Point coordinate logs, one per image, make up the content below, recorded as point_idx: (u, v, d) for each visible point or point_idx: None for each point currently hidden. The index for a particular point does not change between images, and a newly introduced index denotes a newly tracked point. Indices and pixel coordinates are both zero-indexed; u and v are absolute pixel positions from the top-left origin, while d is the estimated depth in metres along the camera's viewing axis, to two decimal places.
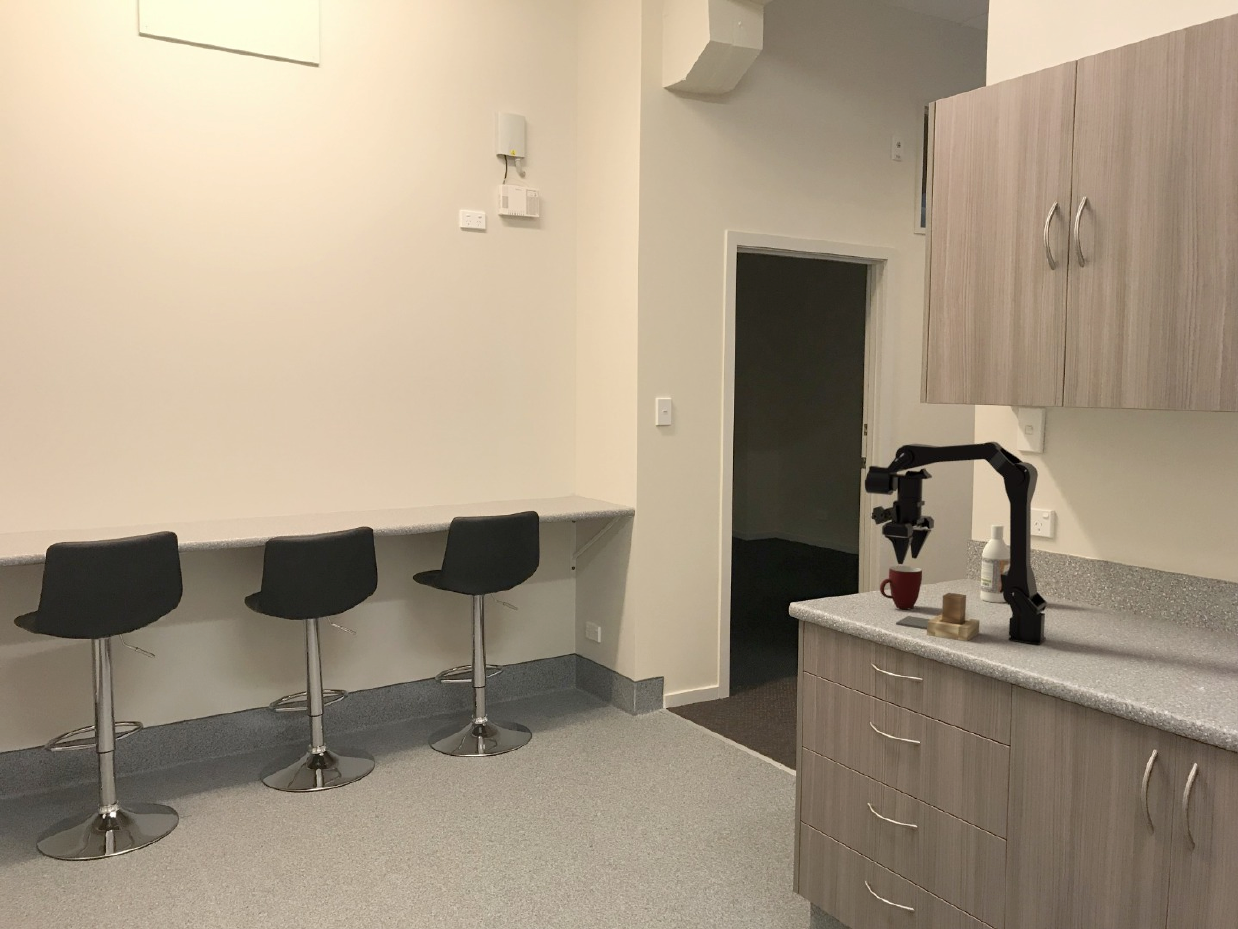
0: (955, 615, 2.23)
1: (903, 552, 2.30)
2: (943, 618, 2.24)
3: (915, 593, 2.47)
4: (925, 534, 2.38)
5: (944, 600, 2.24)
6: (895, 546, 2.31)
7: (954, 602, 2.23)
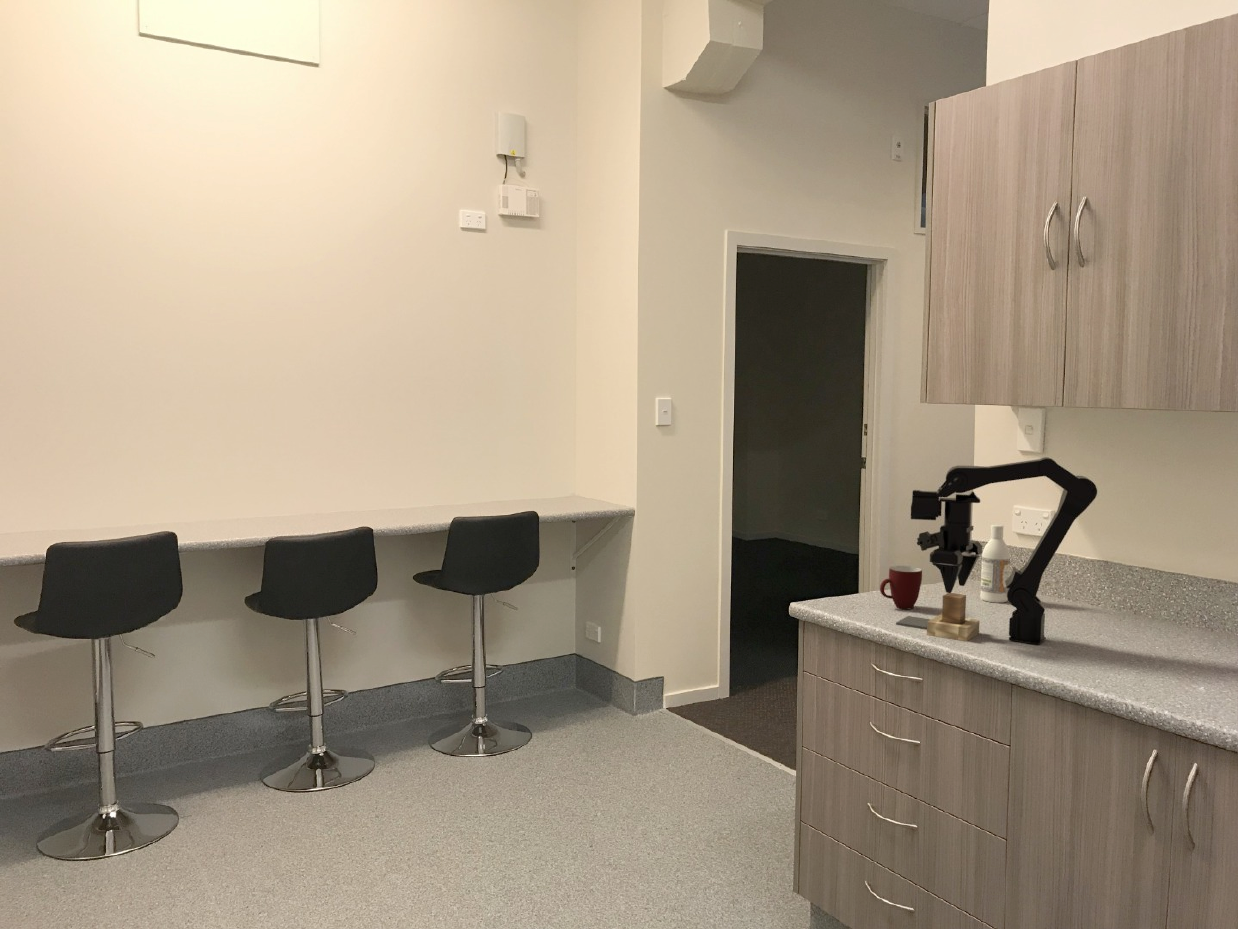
0: (955, 615, 2.23)
1: (952, 580, 2.19)
2: (943, 618, 2.24)
3: (915, 593, 2.47)
4: (973, 560, 2.26)
5: (944, 600, 2.24)
6: (943, 574, 2.20)
7: (954, 602, 2.23)
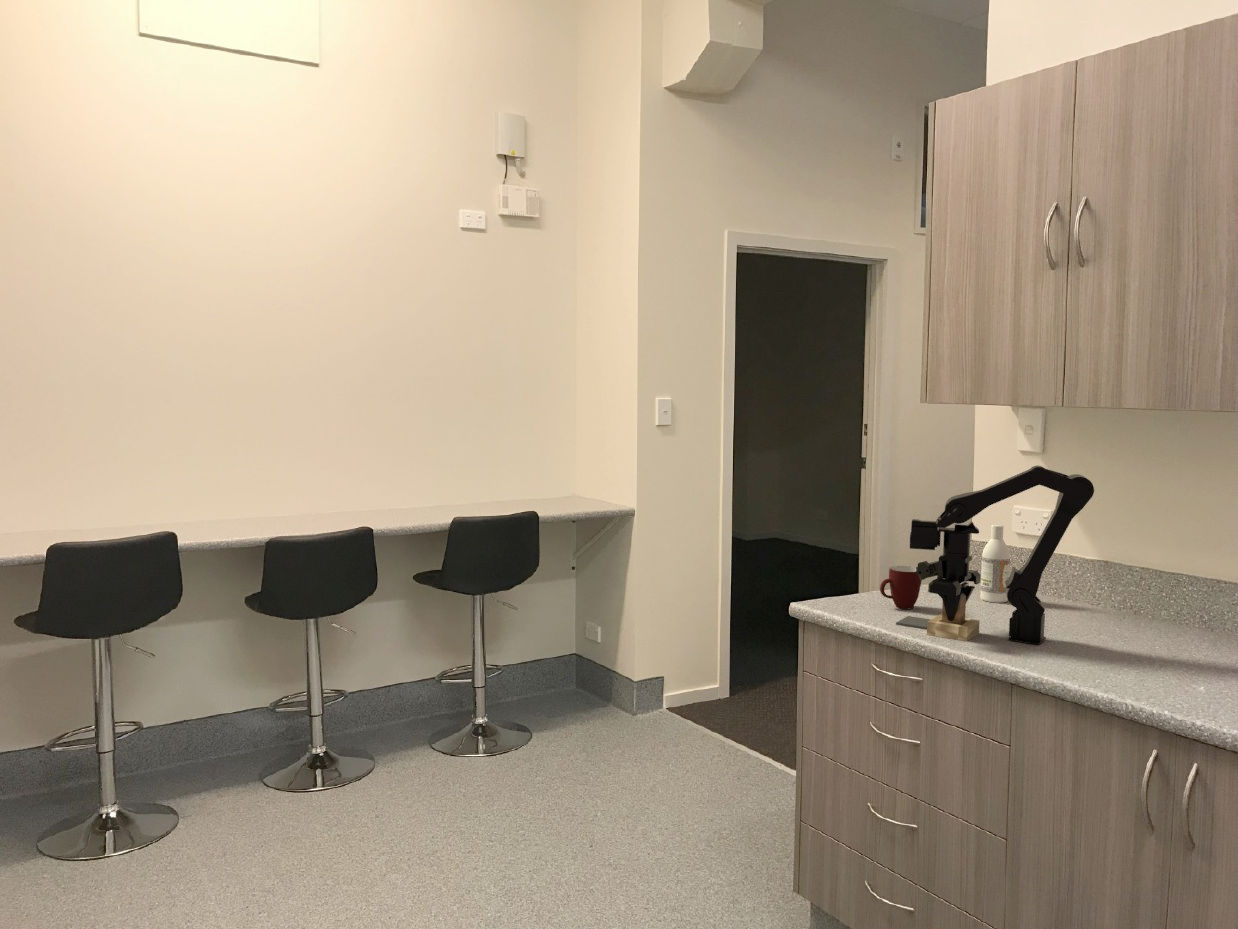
0: (955, 615, 2.23)
1: (953, 608, 2.22)
2: (943, 618, 2.24)
3: (915, 593, 2.47)
4: (968, 592, 2.25)
5: None
6: (945, 602, 2.22)
7: None
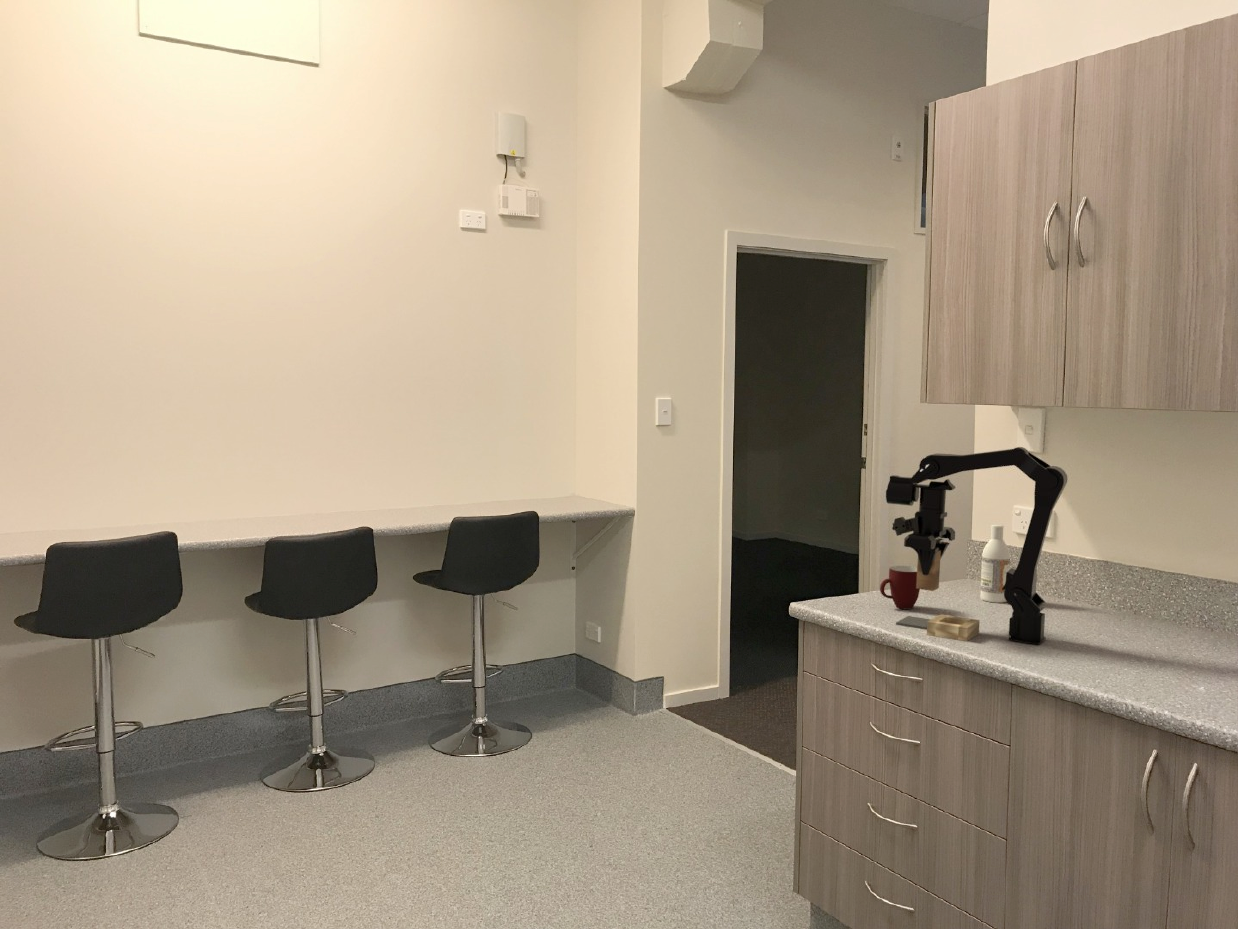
0: (930, 570, 2.28)
1: (928, 563, 2.27)
2: (918, 572, 2.30)
3: (915, 593, 2.47)
4: (943, 547, 2.31)
5: None
6: (920, 557, 2.28)
7: None
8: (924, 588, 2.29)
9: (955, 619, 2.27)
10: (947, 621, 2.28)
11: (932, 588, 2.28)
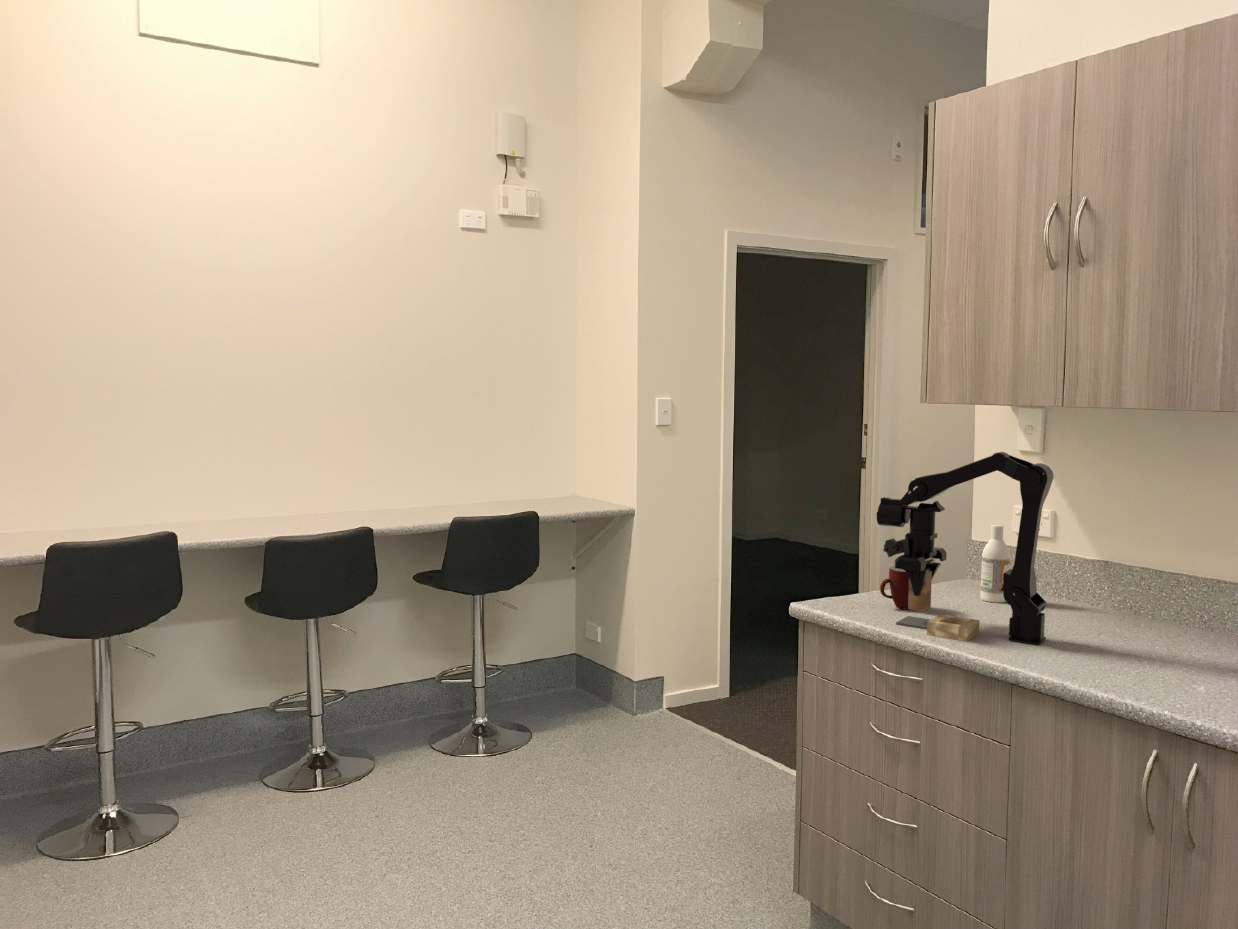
0: (921, 590, 2.31)
1: (919, 584, 2.30)
2: (909, 593, 2.33)
3: None
4: (934, 568, 2.33)
5: None
6: (911, 578, 2.31)
7: None
8: (916, 608, 2.32)
9: (955, 619, 2.27)
10: (947, 621, 2.28)
11: (924, 608, 2.31)
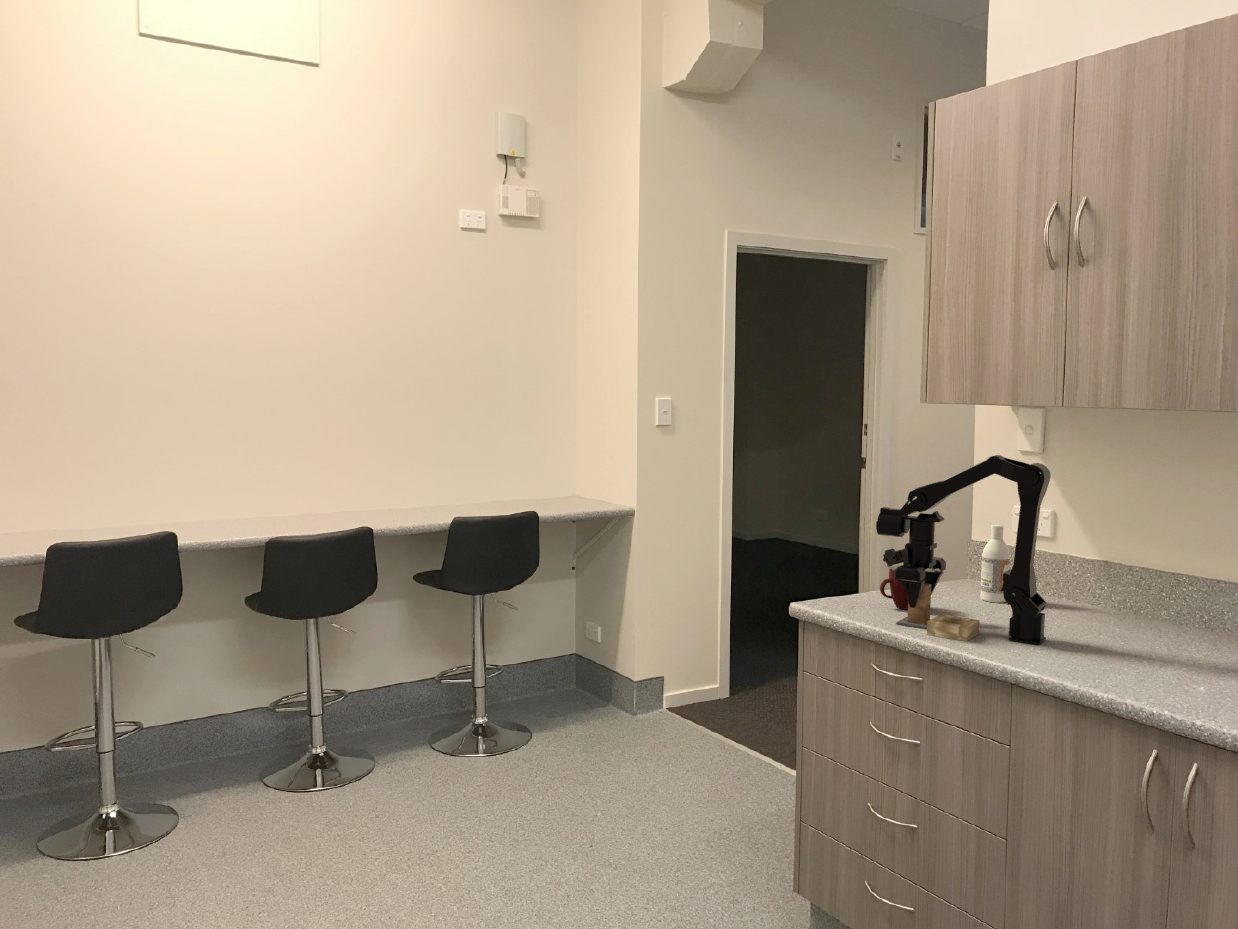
0: (920, 604, 2.31)
1: (915, 595, 2.28)
2: (909, 606, 2.33)
3: None
4: (937, 576, 2.36)
5: None
6: (907, 590, 2.29)
7: None
8: (915, 622, 2.32)
9: (955, 619, 2.27)
10: (947, 621, 2.28)
11: (923, 622, 2.31)
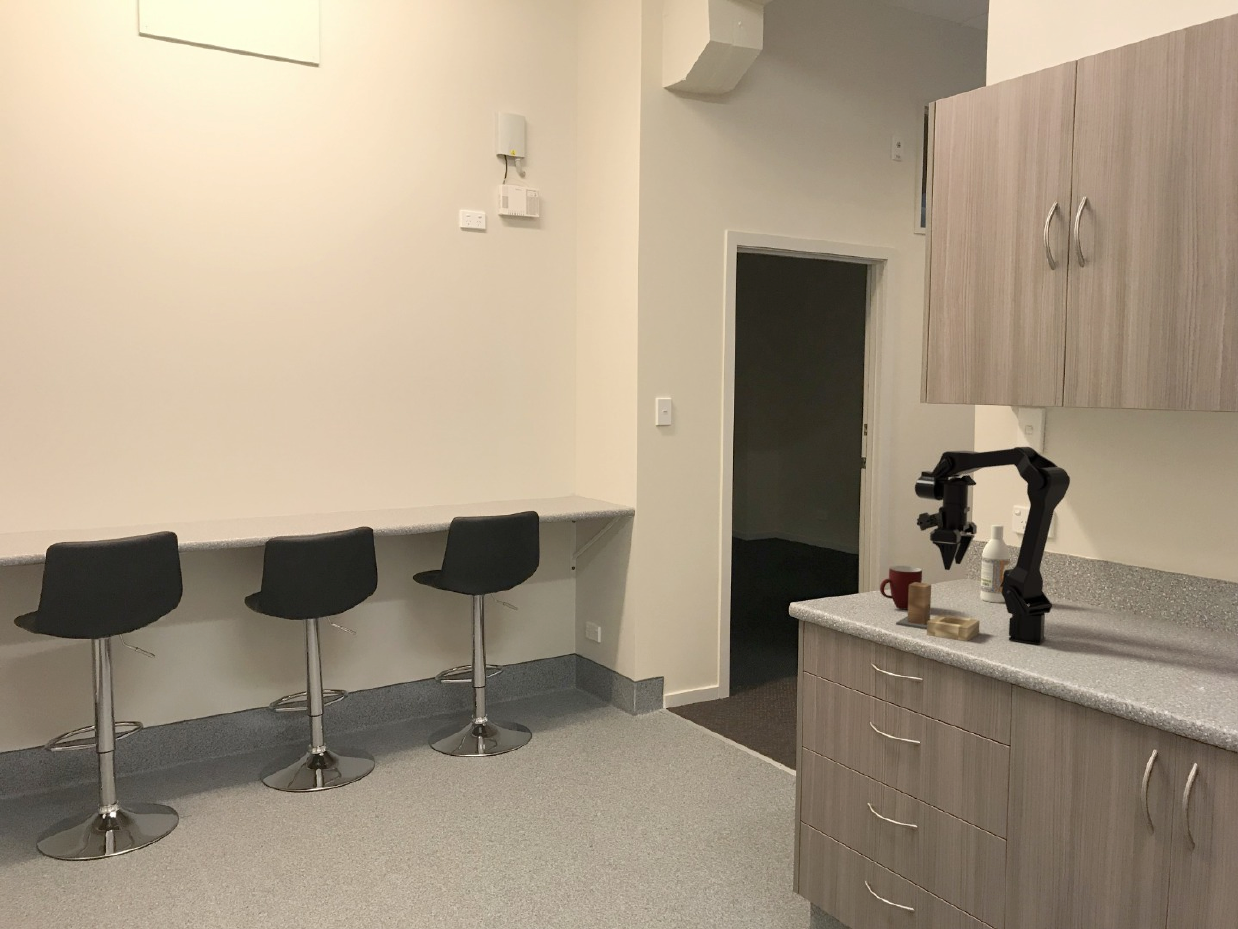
0: (920, 604, 2.31)
1: (950, 558, 2.32)
2: (909, 606, 2.33)
3: None
4: (969, 540, 2.40)
5: (910, 589, 2.33)
6: (942, 552, 2.33)
7: (919, 591, 2.31)
8: (915, 622, 2.32)
9: (955, 619, 2.27)
10: (947, 621, 2.28)
11: (923, 622, 2.31)
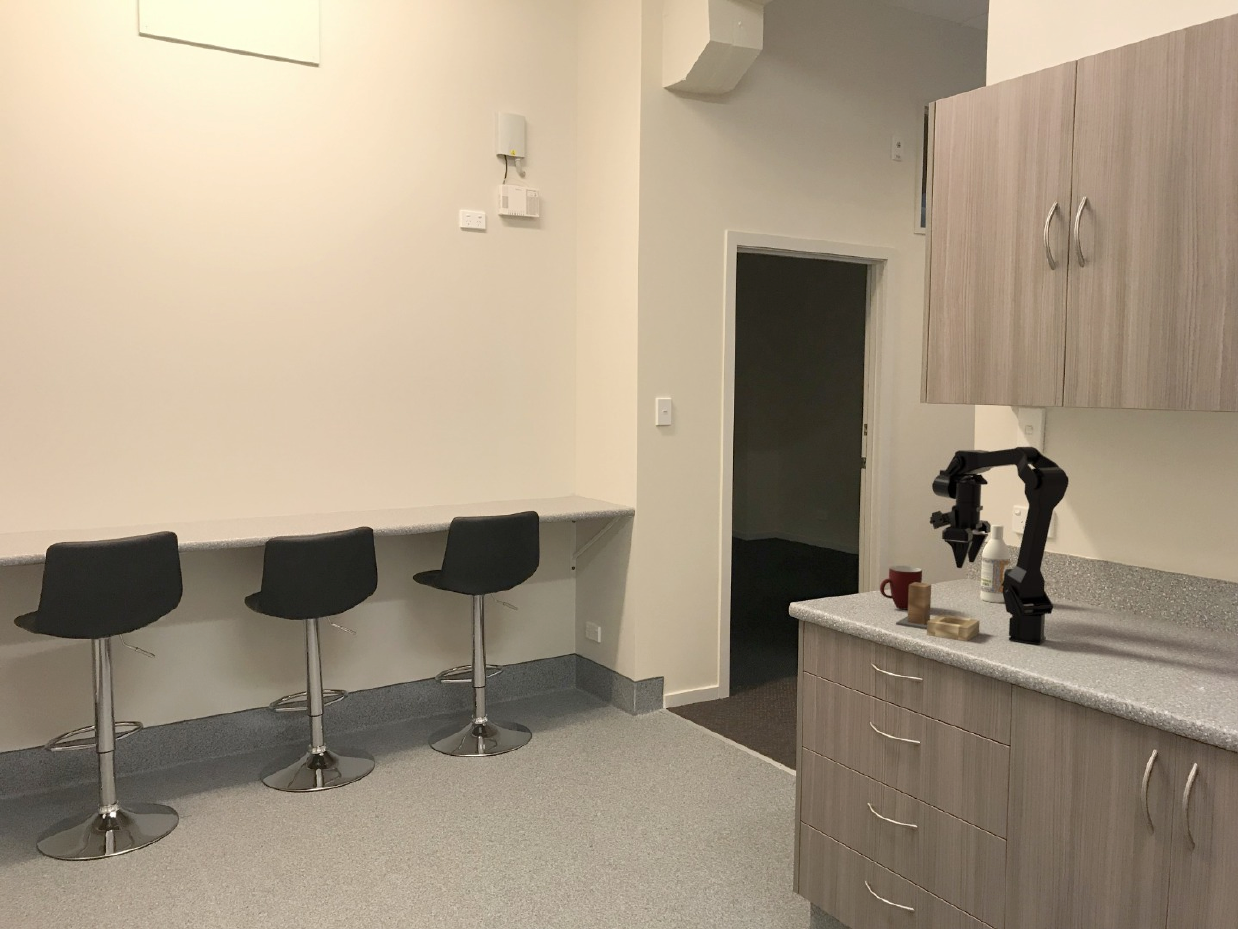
0: (920, 604, 2.31)
1: (962, 556, 2.34)
2: (909, 606, 2.33)
3: None
4: (982, 538, 2.41)
5: (910, 589, 2.33)
6: (954, 550, 2.35)
7: (919, 591, 2.31)
8: (915, 622, 2.32)
9: (955, 619, 2.27)
10: (947, 621, 2.28)
11: (923, 622, 2.31)
